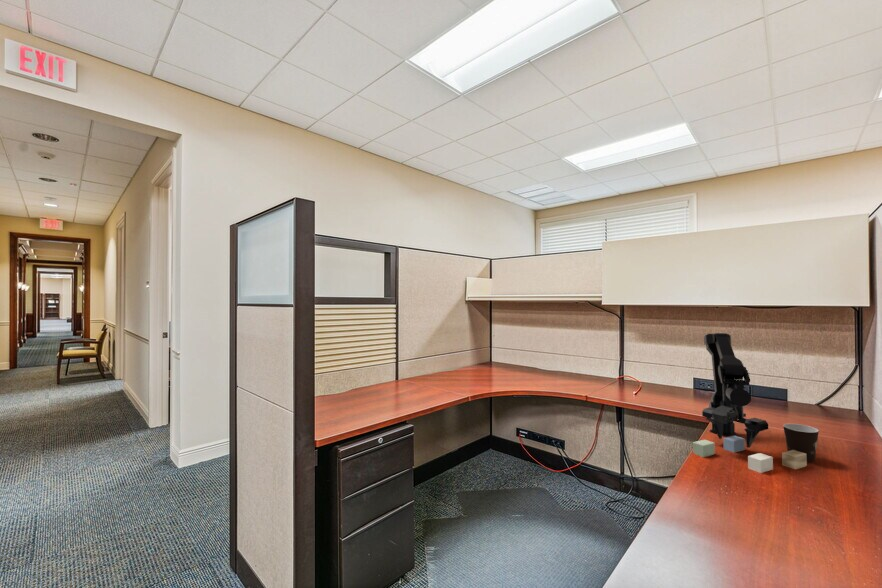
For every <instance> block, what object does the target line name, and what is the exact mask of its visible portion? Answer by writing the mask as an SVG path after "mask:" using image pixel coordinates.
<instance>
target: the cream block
mask: <svg viewBox="0 0 882 588" xmlns="http://www.w3.org/2000/svg"><path fill="white" fill-rule="evenodd" d="M773 459H774V457H773V456H770V455H767V454H764V453H761V452H759V453H758V452H757V453H755V454H751V455H748V456H747V468H748V469H749V470H750V471H751V470H752V471H755V472H758V473H759V474H763V473H765V472H768V471H773V470H774V463H773V462H774V461H773Z"/></svg>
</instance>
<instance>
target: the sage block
mask: <svg viewBox="0 0 882 588" xmlns="http://www.w3.org/2000/svg"><path fill="white" fill-rule="evenodd" d="M715 446H716V444H715V442H713V441H710V440H708V439H701V440H697V441H693V442H692V454H693V453H694V455H696V456H699V457H702V458H706V457H710V456H712V455H716V447H715Z"/></svg>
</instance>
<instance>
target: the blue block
mask: <svg viewBox="0 0 882 588" xmlns="http://www.w3.org/2000/svg"><path fill="white" fill-rule="evenodd" d="M722 439H723V441H722V442H723V450H725V451H729V452H731V453H739V452H741V451H745V450H746V438H743V437H740V436H737V435H729V436H725V437H722Z"/></svg>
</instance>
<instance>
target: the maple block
mask: <svg viewBox="0 0 882 588" xmlns="http://www.w3.org/2000/svg"><path fill="white" fill-rule="evenodd" d="M781 465H782V466H783V467H787V468H790V469H793V470H799V469H802V468H805V467H807V466H808V462H807V456H806V453H802V452H799V451H795V450H791V451H788V450H787V451H784V452H782V453H781Z"/></svg>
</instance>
